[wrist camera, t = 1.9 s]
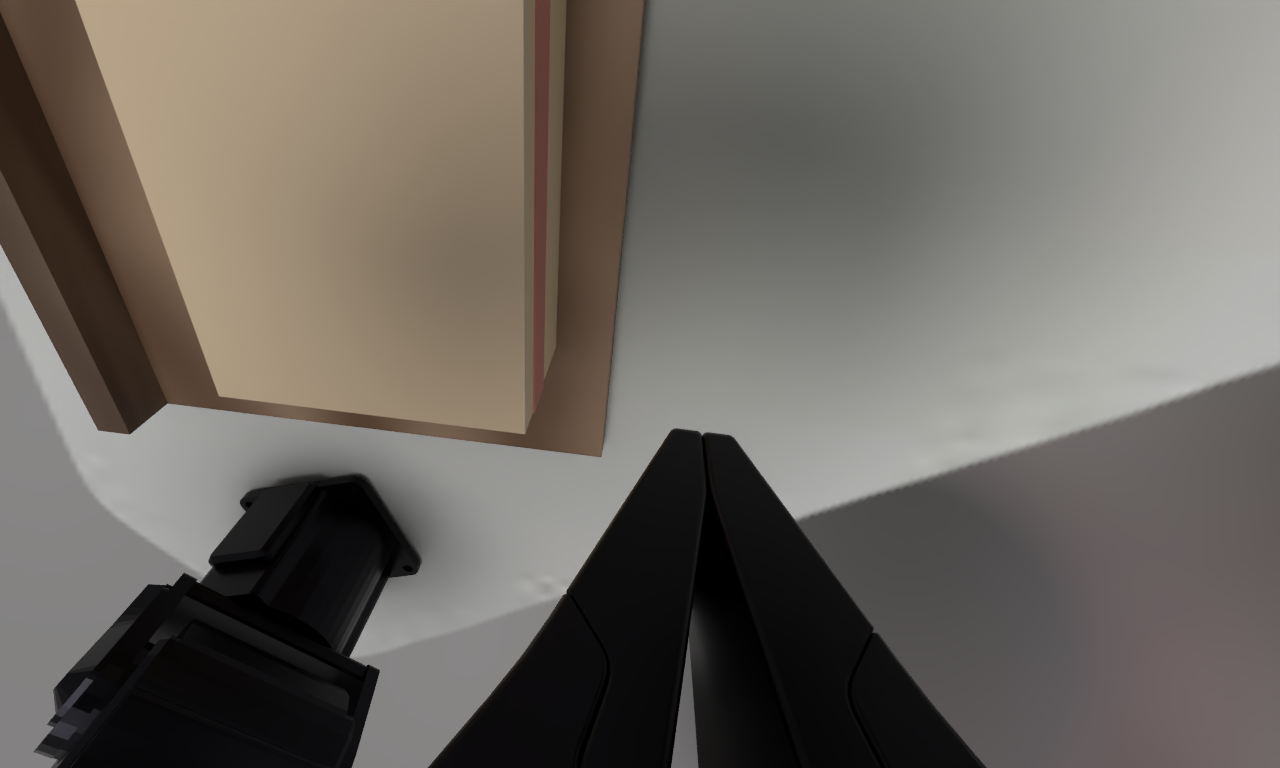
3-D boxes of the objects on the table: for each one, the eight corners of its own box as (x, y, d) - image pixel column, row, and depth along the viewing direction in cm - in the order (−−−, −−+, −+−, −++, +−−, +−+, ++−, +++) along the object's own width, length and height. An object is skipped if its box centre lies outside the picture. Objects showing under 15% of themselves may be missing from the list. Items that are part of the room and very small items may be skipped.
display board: (677, -340, 13) (675, -415, 10) (604, 441, 25) (594, 491, 23) (-209, -458, 13) (-422, -560, 10) (155, 385, 25) (98, 430, 23)
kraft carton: (570, -67, 15) (525, -84, 11) (557, 348, 22) (526, 435, 18) (204, -115, 15) (18, -149, 11) (307, 317, 22) (217, 397, 18)
